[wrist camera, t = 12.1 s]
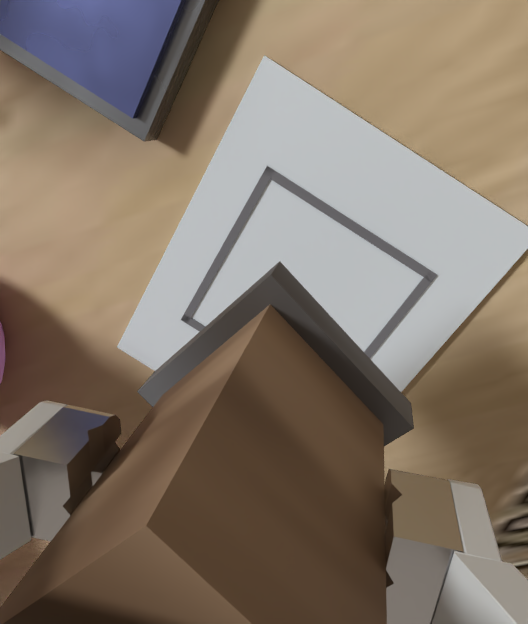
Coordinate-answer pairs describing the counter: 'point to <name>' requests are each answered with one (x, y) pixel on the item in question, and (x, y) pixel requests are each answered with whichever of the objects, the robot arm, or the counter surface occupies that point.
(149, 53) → the ink tin
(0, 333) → the container set
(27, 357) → the counter surface
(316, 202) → the card
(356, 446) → the stamp
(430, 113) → the counter surface
